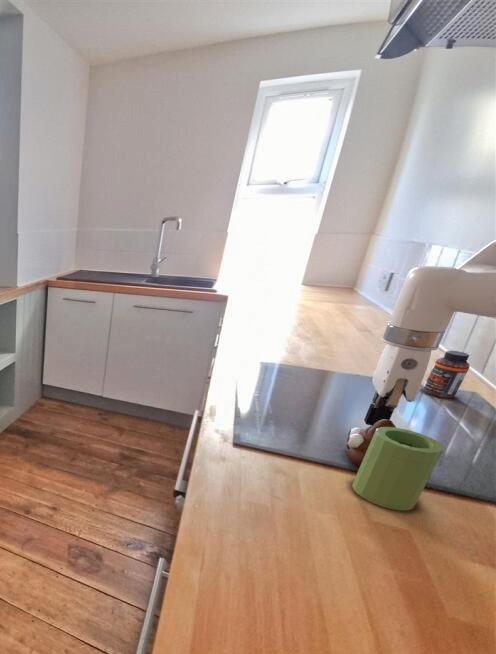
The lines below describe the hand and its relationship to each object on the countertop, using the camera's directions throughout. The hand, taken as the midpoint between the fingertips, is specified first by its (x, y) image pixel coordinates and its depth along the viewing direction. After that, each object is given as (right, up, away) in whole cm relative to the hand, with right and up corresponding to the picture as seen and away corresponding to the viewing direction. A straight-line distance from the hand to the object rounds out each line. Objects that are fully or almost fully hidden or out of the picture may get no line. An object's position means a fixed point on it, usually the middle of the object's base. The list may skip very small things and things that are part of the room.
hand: (374, 424), depth 83 cm
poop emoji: (-5, -7, -4) cm, 9 cm away
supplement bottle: (+39, +5, +24) cm, 46 cm away
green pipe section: (-11, -11, -13) cm, 20 cm away
